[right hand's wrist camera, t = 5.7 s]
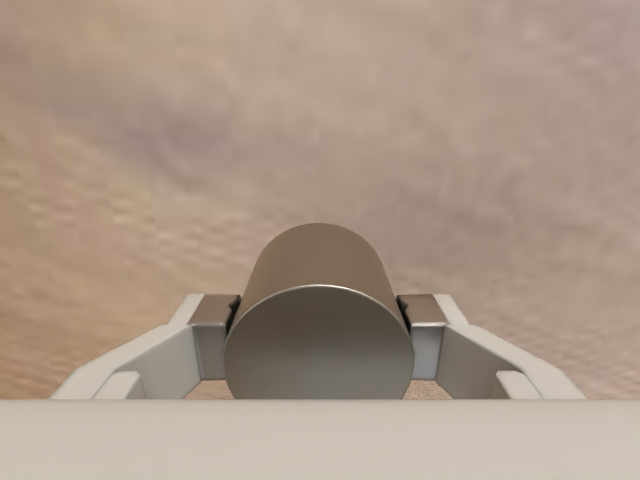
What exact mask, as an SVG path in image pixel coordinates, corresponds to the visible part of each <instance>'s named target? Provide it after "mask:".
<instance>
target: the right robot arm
mask: <svg viewBox="0 0 640 480" xmlns="http://www.w3.org/2000/svg"><path fill="white" fill-rule="evenodd" d="M240 302H241V297H240V295H229V294H189V295H187V296H186V297H185V299H184V300H183V302H182V303H181V305H180V306H179V307H178V309H177V310H176V312H175V313H174V315H173V316H172V317H171V319H170V320H169V322H168V323H167V325H160V326H158V327H156V328H154V329H152V330H150V331H148V332H146V333H144V334H142V335H140V336H138V337H136V338H135V339H133V340H131V341H129V342H127V343H125V344H123V345H121V346H119V347H117V348H115V349H113V350H111V351H109V352H107V353H106V354H104V355H102V356H100V357H98V358H96V359H94V360H92V361H90V362H88V363H86V364H84V365H82V366H80V367H78V368H76V369H75V370H74V371H73V372H72V373H71V374H70V375H69V376H68V377H67V378H66V380H65V381H64V382H63V383H62V384H61V385H60V386H59V387H58V388H57V389H56V390H55V391H54V393H53V394H52V395H51V396H50V397H49V398H48V399H0V480H640V399H587V398H586V396H585V395H584V394H583V393H582V392H581V391H580V390H579V389H578V388H577V386H576V385H575V384H574V383H573V382H572V381H571V380H570V379H569V378H568V376H567V375H566V374H565V373H564V372H563V371H562V370H561V369H559V368H557V367H555V366H553V365H551V364H549V363H548V362H546V361H544V360H542V359H540V358H538V357H536V356H534V355H532V354H530V353H528V352H527V351H525V350H523V349H521V348H519V347H517V346H515V345H513V344H511V343H509V342H507V341H505V340H504V339H502V338H500V337H498V336H496V335H494V334H492V333H490V332H488V331H486V330H484V329H483V328H481V327H479V326H477V325H470V324H469V322H468V321H467V319H466V318H465V317H464V315H463V314H462V312H461V311H460V309H459V308H458V306H457V305H456V304H455V302H454V301H453V299H452V298H451V296H450V295H448V294H420V295H397V297H396V302H397V304H398V307H399V309H400V312H401V315H402V317H403V320H404V322H405V325H406V328H407V330H408V333H409V335H410V338H411V341H412V345H413V350H414V370H413V375H412V379H411V380H432V381H436V383H437V384H438V385H440V386H441V387H442V388H443V389H444V390H445V391H446V392H447V393H448V394H449V395H450V396H451V397H452V398H453V399H183V398H184V397H185V396H187V395H188V394H189V393H190V392H191V391H192V390H193V389H194V388H195V387H196V386H197V385H199V384H200V383H201V381H204V380H226V379H225V375H224V371H223V360H222V358H223V348H224V344H225V341H226V338H227V335H228V333H229V330H230V327H231V325H232V322H233V320H234V317H235V315H236V312H237V310H238V307H239V305H240Z"/></svg>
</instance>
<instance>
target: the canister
mask: <svg viewBox="0 0 640 480" xmlns="http://www.w3.org/2000/svg"><path fill="white" fill-rule="evenodd" d="M222 360H223V371H224V375H225V379H226V382H227V384H228V387H229V389H230V391H231V393H232V394H233V396H234V398H235V399H402V397H403V396H404V394H405V392H406V391H407V389H408V387H409V384H410V382H411V379H412V375H413V370H414V350H413V345H412V341H411V338H410V335H409V333H408V330H407V328H406V325H405V322H404V320H403V317H402V315H401V312H400V309H399V307H398V304H397V302H396V299H395V296H394V294H393V291H392V289H391V286H390V283H389V281H388V278H387V276H386V273H385V271H384V268H383V265H382V263H381V261H380V259H379V256H378V255H377V253H376V252H375V250H374V249H373V247H372V246H371V245H370V244H369V243H368V242H367V241H366V240H365V239H363V238H362V237H361V236H359V235H358V234H356V233H355V232H353V231H351V230H349V229H346V228H344V227H341V226H337V225H332V224H325V223H313V224H305V225H300V226H297V227H294V228H291V229H289V230H287V231H285V232H283V233H281V234H280V235H278V236H277V237H275V238H274V239H273V240H272V241H271V242H270V243H269V244H268V245H267V246H266V247H265V248H264V249H263V251H262V253H261V254H260V256H259V258H258V260H257V262H256V264H255V267H254V269H253V272H252V275H251V277H250V280H249V282H248V285H247V287H246V290H245V292H244V295H243V297H242V300H241V302H240V305H239V307H238V310H237V312H236V315H235V317H234V320H233V322H232V325H231V327H230V330H229V333H228V335H227V338H226V341H225V344H224V348H223V358H222Z"/></svg>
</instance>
